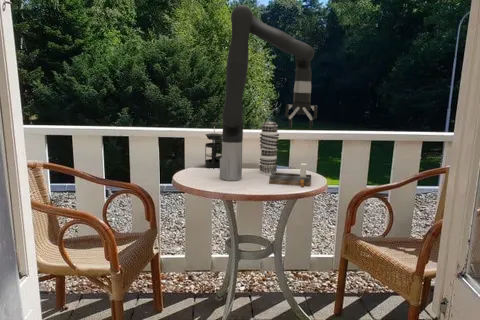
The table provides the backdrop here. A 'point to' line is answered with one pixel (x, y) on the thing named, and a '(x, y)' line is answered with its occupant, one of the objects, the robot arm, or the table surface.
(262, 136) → the decorative candle
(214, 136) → the french press
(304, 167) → the slider tab
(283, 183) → the slider track
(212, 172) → the table surface
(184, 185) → the table surface
